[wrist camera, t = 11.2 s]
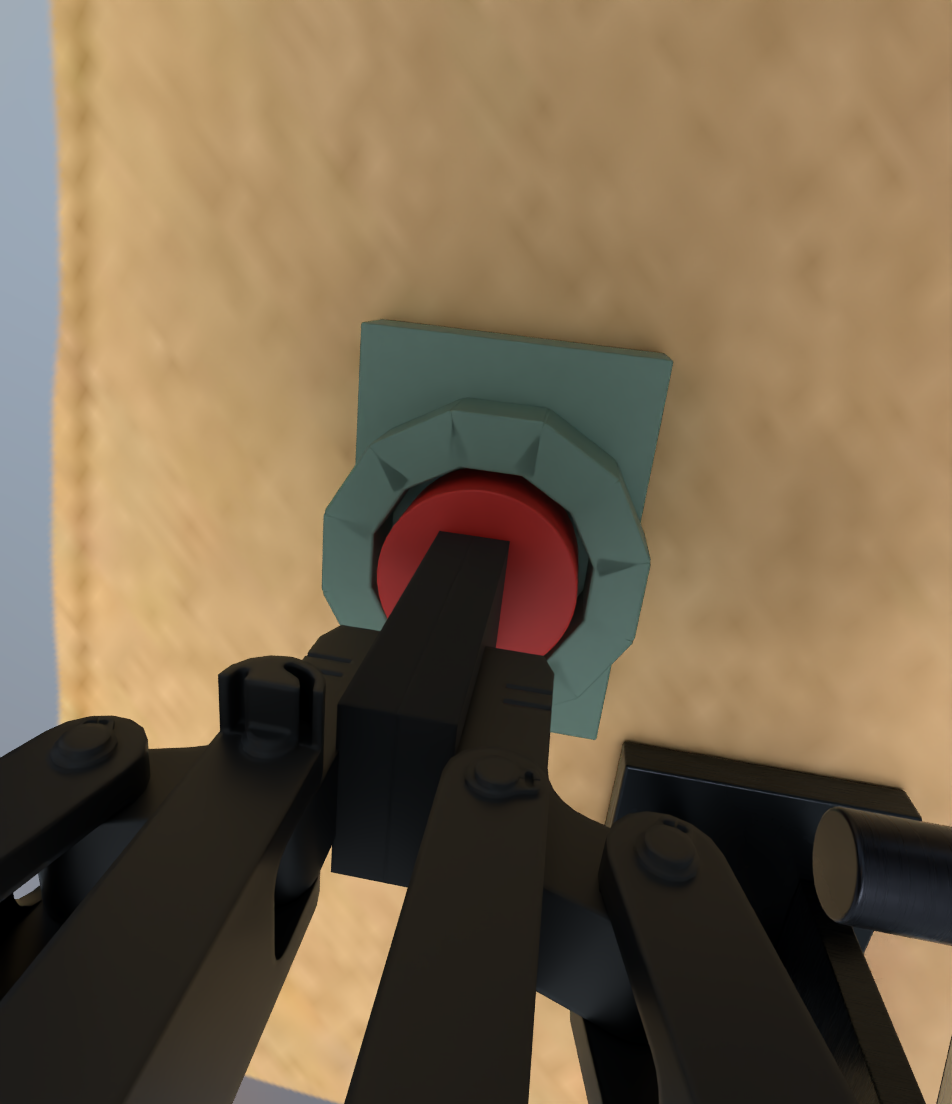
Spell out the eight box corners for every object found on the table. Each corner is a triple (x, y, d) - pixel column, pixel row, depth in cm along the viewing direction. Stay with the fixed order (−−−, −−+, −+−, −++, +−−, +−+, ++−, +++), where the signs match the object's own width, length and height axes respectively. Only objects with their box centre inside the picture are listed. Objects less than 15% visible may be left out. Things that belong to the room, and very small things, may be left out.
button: (405, 453, 16) (381, 475, 14) (592, 479, 16) (593, 506, 14) (394, 619, 18) (371, 659, 16) (563, 647, 18) (560, 691, 16)
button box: (375, 318, 17) (327, 325, 14) (671, 354, 17) (693, 370, 13) (358, 664, 21) (317, 734, 18) (600, 706, 20) (603, 786, 17)
